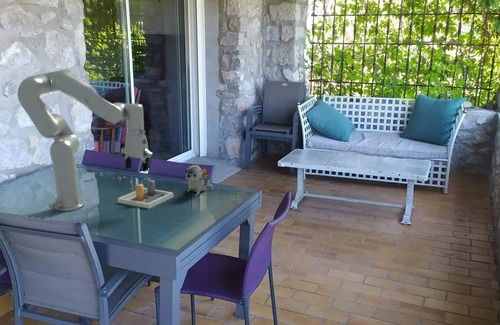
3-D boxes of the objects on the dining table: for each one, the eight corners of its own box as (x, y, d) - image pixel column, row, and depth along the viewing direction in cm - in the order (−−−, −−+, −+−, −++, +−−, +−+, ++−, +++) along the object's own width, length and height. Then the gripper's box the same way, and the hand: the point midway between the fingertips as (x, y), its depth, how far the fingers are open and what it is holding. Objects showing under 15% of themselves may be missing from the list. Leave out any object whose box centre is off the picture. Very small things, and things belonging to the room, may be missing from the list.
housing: (148, 210, 215) (148, 204, 214) (118, 204, 223) (117, 198, 222) (173, 198, 230) (173, 192, 229) (143, 193, 238) (143, 187, 238)
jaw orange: (147, 201, 224) (146, 184, 222) (141, 204, 220) (139, 187, 218) (139, 199, 226) (138, 183, 224) (133, 202, 222) (131, 186, 220)
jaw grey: (152, 199, 227) (151, 182, 225) (144, 197, 229) (143, 181, 227) (158, 196, 231) (157, 180, 229) (150, 195, 233) (149, 179, 231)
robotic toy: (177, 196, 233) (175, 166, 229) (197, 187, 248) (196, 158, 244) (199, 200, 227) (198, 169, 223) (219, 190, 242) (218, 161, 238)
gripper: (156, 132, 214) (157, 170, 218) (126, 128, 222) (128, 165, 226) (145, 135, 208) (146, 174, 212) (114, 131, 216) (116, 168, 220)
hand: (137, 169), depth 219 cm, fingers open, 9 cm apart
